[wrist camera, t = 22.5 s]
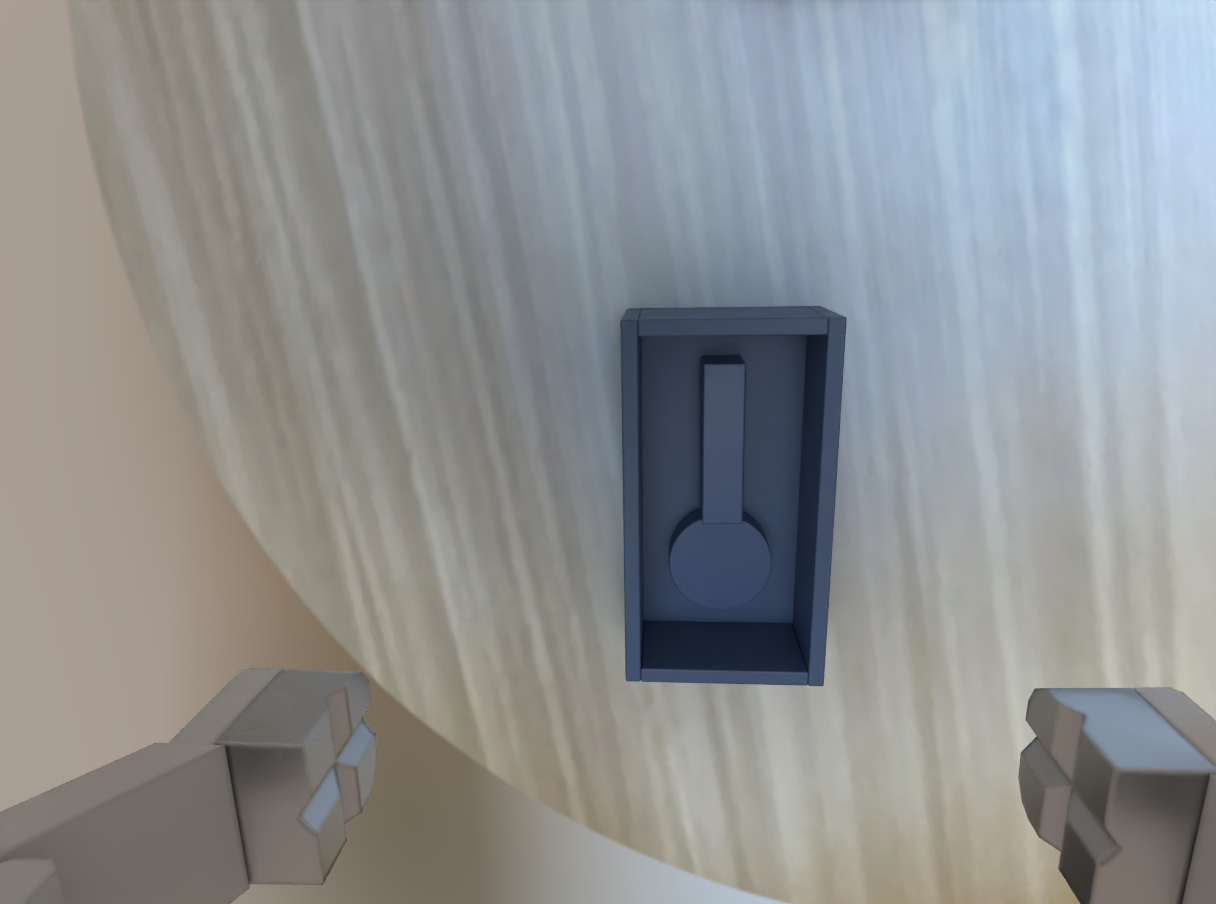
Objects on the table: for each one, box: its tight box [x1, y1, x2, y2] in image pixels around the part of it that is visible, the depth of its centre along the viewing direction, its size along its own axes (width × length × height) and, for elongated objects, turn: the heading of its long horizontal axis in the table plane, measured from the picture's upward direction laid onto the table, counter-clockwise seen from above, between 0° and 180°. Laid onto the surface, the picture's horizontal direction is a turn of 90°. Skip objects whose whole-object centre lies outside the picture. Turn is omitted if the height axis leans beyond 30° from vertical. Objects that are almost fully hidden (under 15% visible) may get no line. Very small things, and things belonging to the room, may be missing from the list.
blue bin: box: [621, 306, 846, 686], centre depth 31 cm, size 8×14×4 cm, turn 1°
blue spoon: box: [669, 355, 772, 610], centre depth 31 cm, size 10×4×2 cm, turn 1°
